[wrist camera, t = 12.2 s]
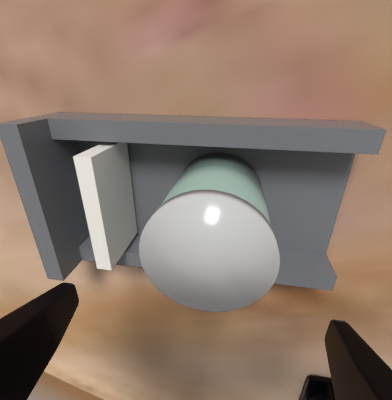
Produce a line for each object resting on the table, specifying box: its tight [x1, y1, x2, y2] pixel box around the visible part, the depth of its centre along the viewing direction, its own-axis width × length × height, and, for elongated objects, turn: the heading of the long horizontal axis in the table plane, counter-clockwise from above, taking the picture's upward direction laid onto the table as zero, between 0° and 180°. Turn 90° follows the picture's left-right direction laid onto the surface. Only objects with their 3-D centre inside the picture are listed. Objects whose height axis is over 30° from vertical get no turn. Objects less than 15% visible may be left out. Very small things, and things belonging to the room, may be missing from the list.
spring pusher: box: [73, 142, 137, 270], centre depth 16 cm, size 7×1×4 cm, turn 0°
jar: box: [139, 153, 280, 312], centre depth 14 cm, size 6×6×7 cm
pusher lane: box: [0, 112, 386, 291], centre depth 16 cm, size 10×19×5 cm, turn 90°
